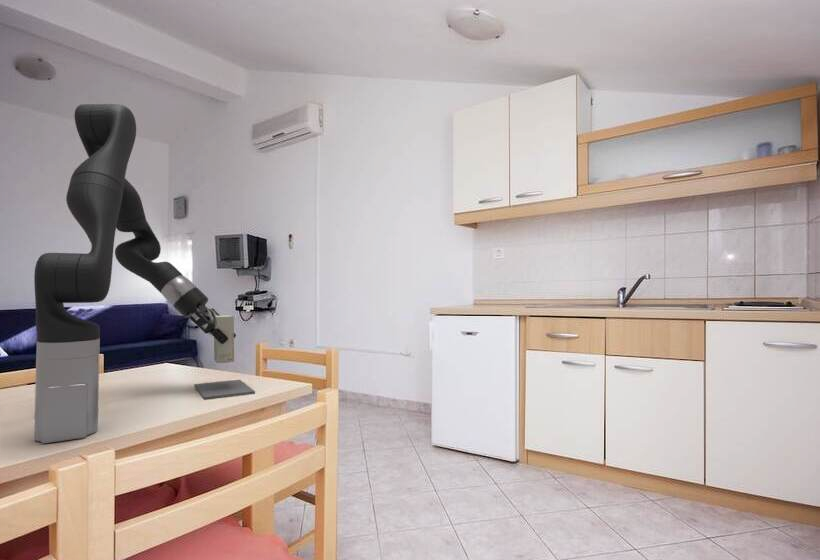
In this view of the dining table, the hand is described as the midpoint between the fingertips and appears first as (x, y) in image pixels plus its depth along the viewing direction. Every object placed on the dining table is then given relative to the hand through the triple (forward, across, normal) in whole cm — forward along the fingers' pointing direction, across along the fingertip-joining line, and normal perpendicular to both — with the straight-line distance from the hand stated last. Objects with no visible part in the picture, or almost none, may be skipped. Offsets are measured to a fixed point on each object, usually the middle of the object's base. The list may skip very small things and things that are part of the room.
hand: (229, 339), depth 118 cm
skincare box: (+3, 0, +5) cm, 6 cm away
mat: (+8, 0, +10) cm, 13 cm away
